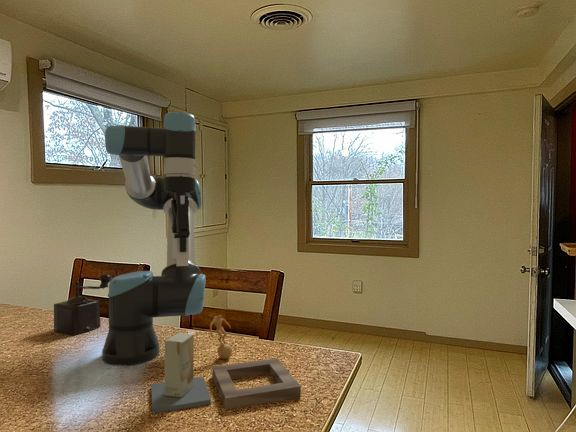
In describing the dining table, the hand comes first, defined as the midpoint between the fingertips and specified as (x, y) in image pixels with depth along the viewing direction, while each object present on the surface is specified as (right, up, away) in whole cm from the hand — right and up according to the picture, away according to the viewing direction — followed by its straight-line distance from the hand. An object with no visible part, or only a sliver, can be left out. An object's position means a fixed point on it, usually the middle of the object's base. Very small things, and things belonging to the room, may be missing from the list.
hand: (180, 261), depth 99 cm
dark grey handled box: (-43, -27, +38) cm, 64 cm away
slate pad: (+3, -29, -10) cm, 31 cm away
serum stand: (+19, -29, -5) cm, 35 cm away
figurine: (+8, -29, +13) cm, 32 cm away
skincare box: (+2, -28, -9) cm, 30 cm away
